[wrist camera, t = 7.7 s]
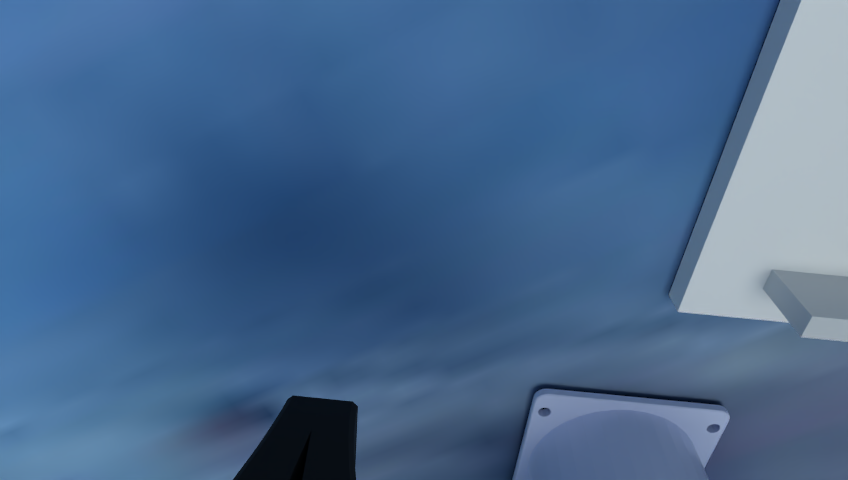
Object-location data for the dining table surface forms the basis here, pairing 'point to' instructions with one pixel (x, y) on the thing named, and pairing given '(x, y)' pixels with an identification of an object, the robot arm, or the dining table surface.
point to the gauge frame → (781, 187)
